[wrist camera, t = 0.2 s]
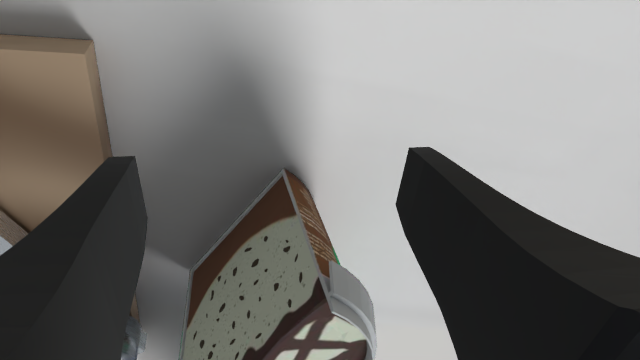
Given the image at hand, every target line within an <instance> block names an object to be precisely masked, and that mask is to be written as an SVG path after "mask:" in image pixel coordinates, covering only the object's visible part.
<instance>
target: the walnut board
mask: <svg viewBox="0 0 640 360" xmlns="http://www.w3.org/2000/svg"><path fill="white" fill-rule="evenodd" d="M108 157H112V151H111V145H110V139H109V133H108V127H107V121H106V115H105V109H104V103H103V97H102V91H101V85H100V79H99V73H98V67H97V61H96V55H95V49H94V43H93V40H79V39H64V38H49V37H33V36H18V35H3V34H0V210H1V211H3V212H4V213H5V214H6V215H7V216H8V217H10V218H11V219H12V220H13V221H14V222H16V223H17V224H18V225H19V226H20V227H21V228H23V229H24V230H25V231H26V232H27V233H30V232H31V231H32V230H33V229H34V228H36V227H37V226H38V225H39V224H40V223H41V222H42V221H44V220H45V219H46V218H47V217H48V216H49V215H50V214H52V213H53V212H54V211H55V210H56V209H57V208H58V207H59V206H60V205H61V204H62V203H63V202H64V201H65V200H66V199H67V198H68V197H69V196H71V195H72V194H73V193H74V192H75V191H76V190H77V189H78V188H79V187H80V186H81V185H82V184H83V183H84V181H85V180H86V179H87V178H88V177H89V176H90V175H91V174H92V173H93V172H94V171H95V170H96V169H97V168H98V167H99V166H100V165H101V164H102V163H103V162H104V161H105V160H106V159H107V158H108ZM129 316H132V317H134V318H135V319H137V320H138V321H139V323H140V320H139V314H138V308H137V302H136V296H135V294H134V298H133V302H132V306H131V310H130V314H129Z"/></svg>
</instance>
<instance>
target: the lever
mask: <svg viewBox="0 0 640 360" xmlns="http://www.w3.org/2000/svg"><path fill="white" fill-rule="evenodd" d="M28 234H29V233H27V232H26V231H25V230H24V229H23V228H21V227H20V226H19V225H18V224H17V223H16V222H14V221H13V220H12V219H11V218H10V217H8V216H7V215H6V214H5V213H4V212H3V211H1V210H0V255H2V254H3V253H4V252H6V251H7V250H8V249H10V248H11V247H12V246H14V245H15V244H16V243H18V242H19V241H20V240H21V239H23V238H24V237H25V236H26V235H28ZM146 338H147V333H145V332H144V331H143V330H142V329H141V324H140V323H139V321H138V320H137V319H135V318H134V317H132V316H129V319H128V323H127V327H126V331H125V336H124V342H123V347H122V354H121V360H137V354H139V353H142V352H144V351H145V345H146Z"/></svg>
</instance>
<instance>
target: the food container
mask: <svg viewBox="0 0 640 360" xmlns="http://www.w3.org/2000/svg"><path fill="white" fill-rule="evenodd" d="M376 349H377V341H376V329H375V318H374V310H373V304H372V301H371V299H370V296H369V294H368V292H367V290H366V289H365V288H364V286H363V285H362V284H361V282H360V281H359V280H358V279H357V278H356V277H355V276H354V275H353V274H351V273H350V272H349V271H348V270H347V269H345V268H344V267H342V266H341V265H340V263H339V260H338V258H337V256H336V253H335V251H334V248H333V246H332V244H331V241H330V239H329V236H328V234H327V232H326V229H325V227H324V224H323V222H322V220H321V217H320V215H319V213H318V210H317V208H316V205H315V203H314V201H313V198H312V196H311V194H310V192H309V191H308V189H307V188H306V187H305V185H304V184H303V183H302V182H301V181H300V180H299V179H298V178H297V177H296V176H295V175H294V174H292V173H291V172H289V171H288V170H286V169H285V168H283V169H282V171H281V172H280V173H279V174H278V175H277V176H276V177H275V178H274V179H273V180H272V181H271V183H270V184H269V185H268V186H267V187H266V188H265V189H264V190H263V191H262V192H261V193H260V195H259V196H258V197H257V198H256V199H255V200H254V201H253V202H252V203H251V204H250V205H249V207H248V208H247V209H246V210H245V211H244V212H243V213H242V214H241V215H240V216H239V218H238V219H237V220H236V221H235V222H234V223H233V224H232V225H231V226H230V227H229V228H228V230H227V231H226V232H225V233H224V234H223V235H222V236H221V237H220V238H219V239H218V240H217V242H216V243H215V244H214V245H213V246H212V247H211V248H210V249H209V250H208V251H207V252H206V254H205V255H204V256H203V257H202V258H201V259H200V260H199V261H198V262H197V263H196V265H195V266H194V267H193V268H192V269H191V270H190V276H189V283H188V291H187V299H186V307H185V315H184V323H183V330H182V338H181V346H180V354H179V360H375V355H376Z"/></svg>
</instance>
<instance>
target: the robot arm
mask: <svg viewBox="0 0 640 360" xmlns="http://www.w3.org/2000/svg"><path fill="white" fill-rule="evenodd" d="M396 207H397V211H398V214H399V217H400V221H401V224H402V227H403V230H404V233H405V236H406V238H407V240H408V242H409V244H410V246H411V248H412V251H413V253H414V255H415V257H416V259H417V261H418V263H419V265H420V267H421V269H422V271H423V273H424V275H425V277H426V279H427V282H428V284H429V286H430V288H431V290H432V292H433V294H434V296H435V298H436V300H437V303H438V305H439V307H440V309H441V312H442V314H443V317H444V320H445V323H446V326H447V328H448V331H449V334H450V337H451V340H452V342H453V345H454V348H455V351H456V354H457V358H458V360H640V258H639V257H636V256H633V255H630V254H627V253H624V252H622V251H619V250H616V249H614V248H611V247H608V246H606V245H603V244H601V243H598V242H596V241H594V240H591V239H589V238H586V237H584V236H582V235H579V234H577V233H575V232H572V231H570V230H568V229H566V228H564V227H562V226H559V225H558V224H556V223H554V222H552V221H550V220H548V219H546V218H544V217H542V216H540V215H538V214H536V213H534V212H532V211H530V210H528V209H527V208H525V207H523V206H521V205H520V204H518V203H516V202H515V201H513V200H511V199H510V198H508V197H506V196H504V195H503V194H501V193H500V192H498V191H496V190H495V189H493V188H492V187H490V186H489V185H487V184H486V183H484V182H483V181H481V180H480V179H478V178H477V177H475V176H474V175H472V174H471V173H469V172H468V171H466V170H465V169H463V168H462V167H460V166H459V165H457V164H456V163H454V162H453V161H451V160H450V159H448V158H447V157H445V156H444V155H442V154H441V153H439V152H437V151H436V150H434V149H432V148H430V147H416V148H409V150H408V155H407V159H406V163H405V167H404V171H403V176H402V180H401V184H400V188H399V192H398V197H397V201H396ZM146 229H147V214H146V209H145V204H144V199H143V194H142V189H141V184H140V179H139V174H138V169H137V164H136V160H135V156H131V157H108V158H107V159H106V160H105V161H104V162H103V163H102V164H101V165H100V166H99V167H98V168H97V169H96V170H95V171H94V172H93V173H92V174H91V175H90V176H89V177H88V178H87V179H86V180H85V181H84V183H83V184H82V185H81V186H80V187H79V188H78V189H77V190H76V191H75V192H74V193H73V194H72V195H71V196H69V197H68V198H67V199H66V200H65V201H64V202H63V203H62V204H61V205H60V206H59V207H58V208H57V209H56V210H55V211H54V212H53V213H52V214H50V215H49V216H48V217H47V218H46V219H45V220H44V221H42V222H41V223H40V224H39V225H38V226H37V227H36V228H34V229H33V230H32V231H31V232H30V233H29V234H28V235H26V236H25V237H24V238H23V239H21V240H20V241H19V242H18V243H16V244H15V245H14V246H12V247H11V248H10V249H8V250H7V251H6V252H4V253H3V254H2V255H0V360H121V354H122V347H123V342H124V336H125V331H126V327H127V323H128V319H129V314H130V310H131V306H132V302H133V298H134V294H135V290H136V286H137V281H138V277H139V273H140V269H141V264H142V260H143V256H144V249H145V240H146Z"/></svg>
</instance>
